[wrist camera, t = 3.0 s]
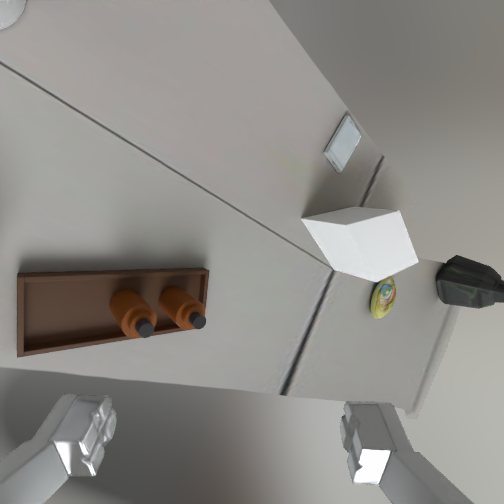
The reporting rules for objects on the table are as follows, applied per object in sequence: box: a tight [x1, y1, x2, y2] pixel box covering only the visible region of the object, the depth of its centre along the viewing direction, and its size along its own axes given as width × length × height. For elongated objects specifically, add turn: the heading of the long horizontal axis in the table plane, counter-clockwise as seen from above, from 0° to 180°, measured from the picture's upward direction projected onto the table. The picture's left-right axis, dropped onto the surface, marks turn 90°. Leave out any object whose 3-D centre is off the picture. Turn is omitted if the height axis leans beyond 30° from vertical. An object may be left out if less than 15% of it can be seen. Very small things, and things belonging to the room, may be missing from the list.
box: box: [301, 207, 418, 282], centre depth 86 cm, size 20×40×14 cm, turn 68°
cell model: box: [370, 276, 396, 319], centre depth 107 cm, size 11×8×15 cm
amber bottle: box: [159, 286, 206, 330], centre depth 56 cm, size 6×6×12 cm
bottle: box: [436, 255, 504, 308], centre depth 130 cm, size 18×16×30 cm
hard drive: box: [324, 115, 361, 173], centre depth 82 cm, size 2×8×12 cm
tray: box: [17, 268, 209, 358], centre depth 55 cm, size 32×13×2 cm, turn 81°
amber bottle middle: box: [109, 289, 157, 338], centre depth 51 cm, size 6×6×12 cm
